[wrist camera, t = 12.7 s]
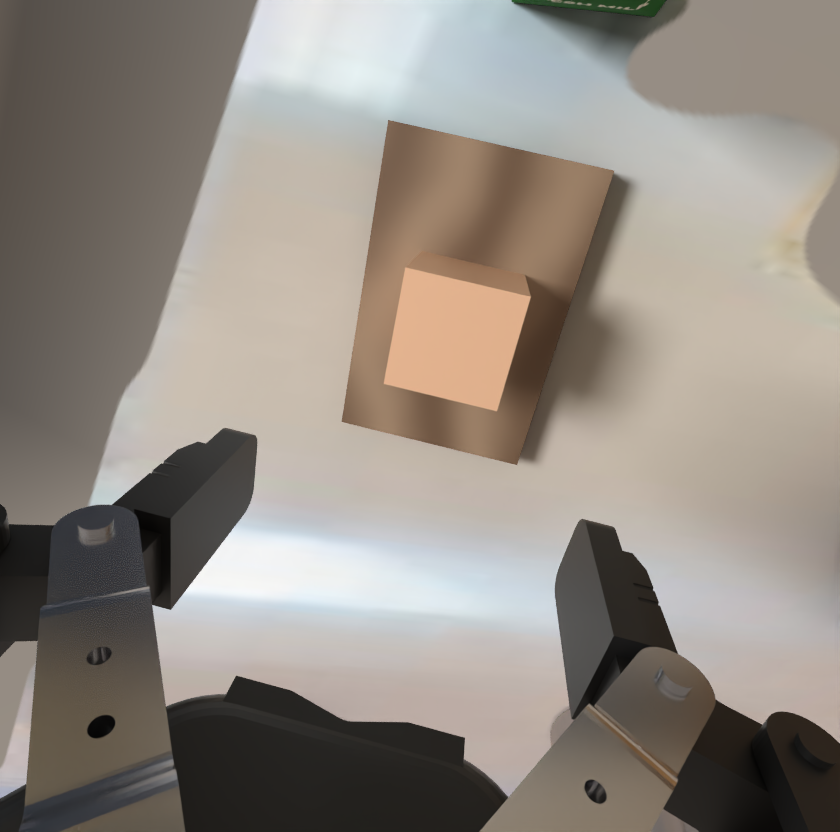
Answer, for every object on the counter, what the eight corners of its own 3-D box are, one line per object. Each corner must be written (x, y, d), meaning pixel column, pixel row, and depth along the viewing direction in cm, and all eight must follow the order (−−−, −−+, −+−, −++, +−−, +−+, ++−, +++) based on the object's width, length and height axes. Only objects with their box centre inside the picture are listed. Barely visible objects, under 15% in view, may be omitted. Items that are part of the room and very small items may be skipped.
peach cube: (524, 275, 30) (530, 296, 24) (497, 372, 32) (496, 411, 27) (421, 250, 30) (405, 267, 25) (402, 349, 33) (383, 383, 27)
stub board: (608, 171, 28) (629, 170, 24) (516, 454, 36) (518, 493, 32) (393, 122, 29) (374, 112, 24) (347, 412, 37) (326, 445, 32)
